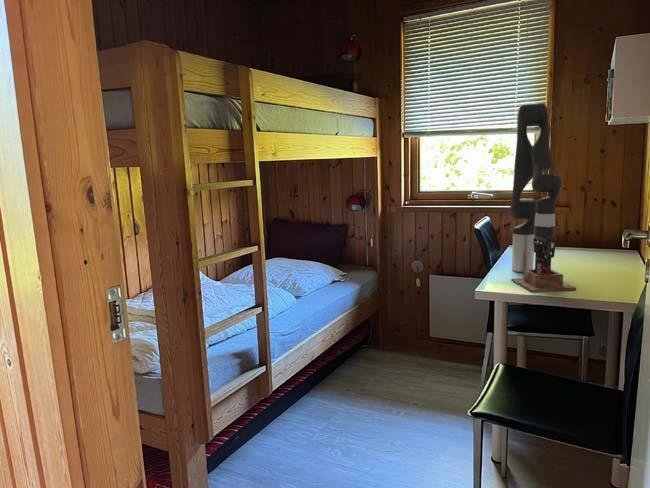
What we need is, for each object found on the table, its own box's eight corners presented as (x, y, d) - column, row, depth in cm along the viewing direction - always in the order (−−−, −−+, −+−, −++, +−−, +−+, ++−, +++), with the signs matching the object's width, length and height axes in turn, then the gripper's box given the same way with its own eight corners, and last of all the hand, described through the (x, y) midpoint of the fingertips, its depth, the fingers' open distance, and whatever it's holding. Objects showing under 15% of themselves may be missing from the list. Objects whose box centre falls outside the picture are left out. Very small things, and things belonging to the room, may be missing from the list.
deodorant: (533, 280, 199) (534, 244, 197) (536, 277, 204) (537, 242, 202) (548, 282, 196) (550, 245, 194) (551, 279, 201) (553, 243, 199)
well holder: (511, 281, 209) (511, 268, 208) (552, 279, 210) (553, 266, 209) (531, 292, 191) (531, 278, 190) (576, 290, 192) (576, 276, 191)
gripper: (527, 222, 203) (526, 262, 206) (544, 227, 189) (542, 269, 192) (545, 222, 204) (543, 261, 206) (563, 226, 189) (561, 269, 192)
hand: (543, 265), depth 199 cm, fingers closed on deodorant, 6 cm apart
